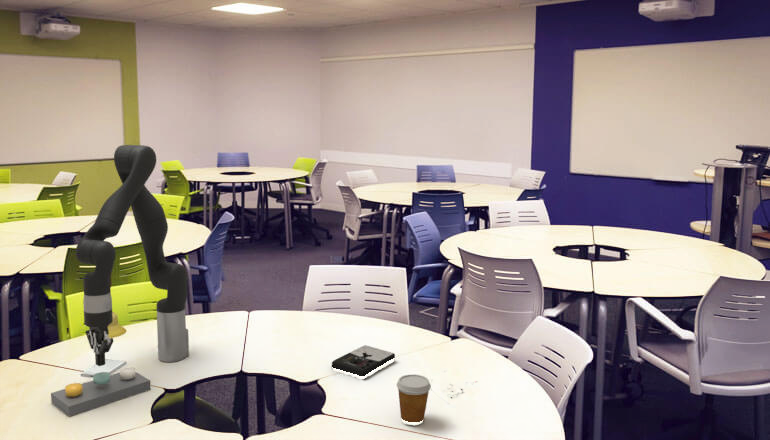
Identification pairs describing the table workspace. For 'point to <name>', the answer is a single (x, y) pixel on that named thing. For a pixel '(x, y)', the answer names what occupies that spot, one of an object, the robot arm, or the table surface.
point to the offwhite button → (127, 373)
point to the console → (100, 394)
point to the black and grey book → (362, 360)
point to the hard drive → (104, 367)
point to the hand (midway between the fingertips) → (100, 364)
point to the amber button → (73, 389)
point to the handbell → (115, 326)
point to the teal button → (101, 378)
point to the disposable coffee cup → (413, 397)
